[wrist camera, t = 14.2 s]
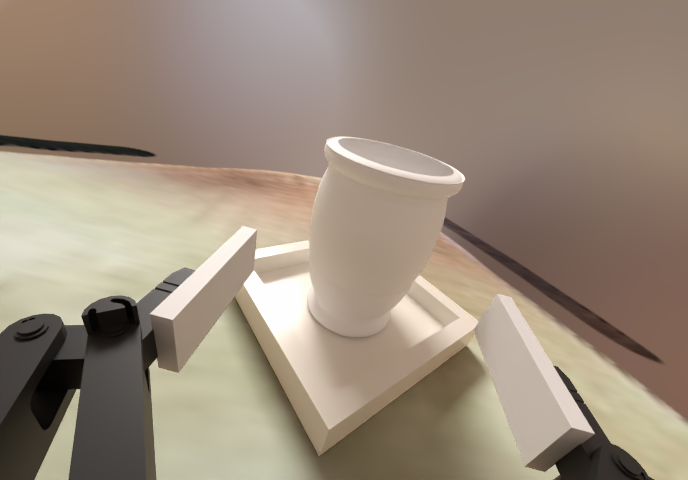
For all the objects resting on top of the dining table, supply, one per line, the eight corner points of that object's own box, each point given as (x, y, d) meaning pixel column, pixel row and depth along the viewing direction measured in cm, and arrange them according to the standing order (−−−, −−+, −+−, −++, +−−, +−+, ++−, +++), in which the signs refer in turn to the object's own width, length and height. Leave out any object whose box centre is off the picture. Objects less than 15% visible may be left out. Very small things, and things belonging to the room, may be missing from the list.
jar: (326, 260, 33) (357, 131, 26) (408, 297, 31) (468, 165, 23) (272, 314, 24) (296, 139, 17) (381, 372, 22) (464, 196, 14)
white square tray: (225, 279, 28) (226, 254, 27) (357, 250, 39) (363, 230, 38) (318, 456, 17) (328, 429, 15) (466, 345, 28) (481, 323, 26)
